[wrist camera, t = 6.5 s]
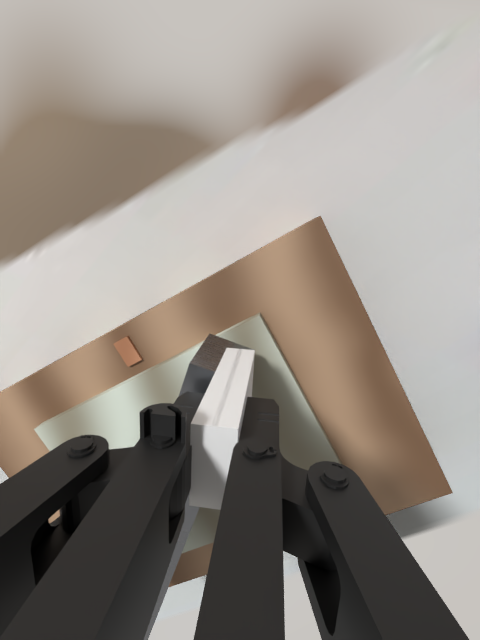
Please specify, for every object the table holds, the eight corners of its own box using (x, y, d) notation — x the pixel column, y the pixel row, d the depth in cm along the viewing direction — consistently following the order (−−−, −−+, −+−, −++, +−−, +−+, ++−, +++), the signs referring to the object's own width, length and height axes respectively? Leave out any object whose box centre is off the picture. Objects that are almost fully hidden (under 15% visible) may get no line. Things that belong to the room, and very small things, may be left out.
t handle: (198, 323, 17) (170, 355, 13) (269, 349, 17) (267, 391, 13) (123, 552, 22) (82, 639, 17) (179, 574, 22) (153, 666, 17)
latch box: (313, 218, 19) (322, 214, 16) (429, 459, 23) (460, 504, 19) (-3, 393, 25) (-53, 421, 21) (125, 568, 28) (101, 620, 24)
